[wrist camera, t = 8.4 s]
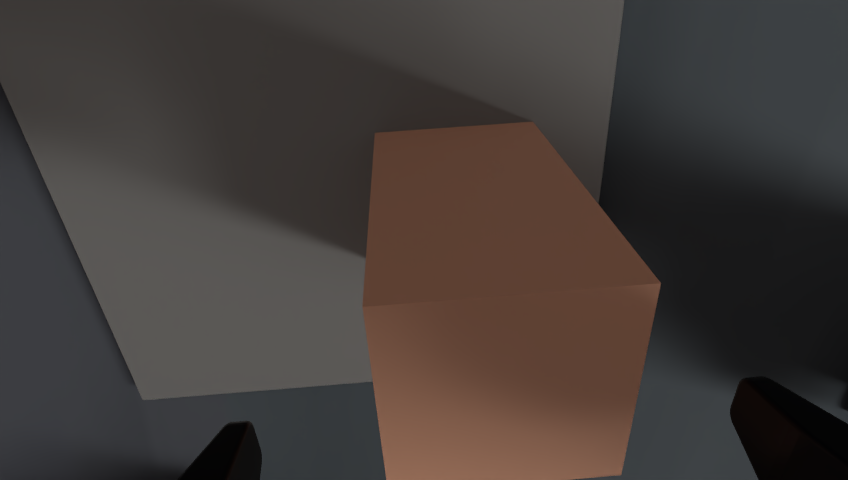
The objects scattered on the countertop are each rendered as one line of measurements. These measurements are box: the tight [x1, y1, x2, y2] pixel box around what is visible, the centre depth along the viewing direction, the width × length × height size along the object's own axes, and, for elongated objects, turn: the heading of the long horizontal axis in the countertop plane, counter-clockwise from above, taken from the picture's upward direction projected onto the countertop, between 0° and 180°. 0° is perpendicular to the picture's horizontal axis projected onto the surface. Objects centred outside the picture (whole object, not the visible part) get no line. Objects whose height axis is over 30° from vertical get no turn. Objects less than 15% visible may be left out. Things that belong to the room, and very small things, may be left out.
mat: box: [0, 0, 624, 400], centre depth 18 cm, size 18×16×1 cm
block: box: [362, 122, 661, 480], centre depth 14 cm, size 5×5×9 cm
